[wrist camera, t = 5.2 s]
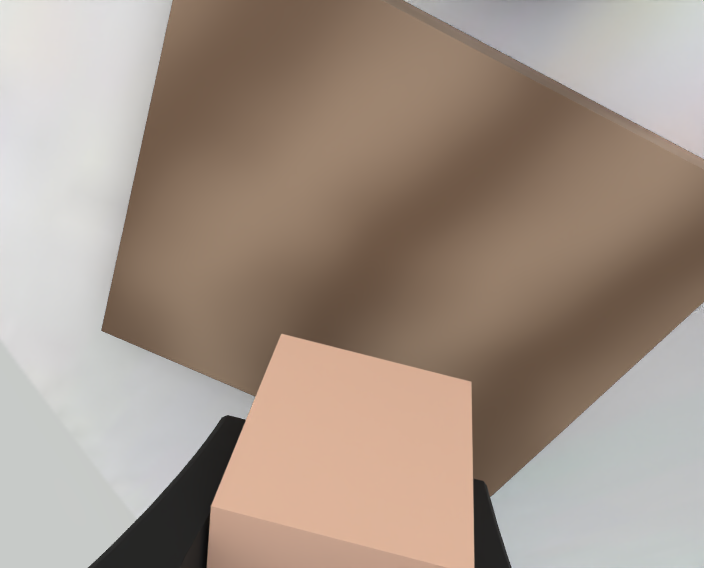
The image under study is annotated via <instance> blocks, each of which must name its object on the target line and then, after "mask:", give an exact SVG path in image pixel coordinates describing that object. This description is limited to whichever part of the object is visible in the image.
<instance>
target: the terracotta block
mask: <svg viewBox="0 0 704 568" xmlns="http://www.w3.org/2000/svg"><path fill="white" fill-rule="evenodd" d="M207 568H474V509H473V447H472V386H471V382H470V381H466V380H462V379H458V378H455V377H451V376H447V375H443V374H439V373H435V372H431V371H427V370H423V369H419V368H415V367H411V366H407V365H403V364H399V363H395V362H391V361H387V360H383V359H379V358H375V357H372V356H368V355H364V354H360V353H356V352H352V351H348V350H344V349H340V348H336V347H332V346H328V345H324V344H320V343H316V342H312V341H308V340H304V339H300V338H296V337H293V336H289V335H285V334H281V336H280V338H279V340H278V343H277V345H276V348H275V350H274V353H273V355H272V358H271V360H270V363H269V365H268V367H267V370H266V372H265V375H264V377H263V380H262V382H261V385H260V387H259V390H258V392H257V394H256V397H255V399H254V402H253V404H252V407H251V409H250V412H249V414H248V417H247V419H246V421H245V424H244V426H243V429H242V431H241V434H240V436H239V439H238V441H237V443H236V446H235V448H234V451H233V453H232V456H231V458H230V461H229V463H228V466H227V468H226V470H225V473H224V475H223V478H222V480H221V483H220V485H219V488H218V490H217V493H216V495H215V497H214V500H213V502H212V505H211V513H210V527H209V542H208V556H207Z"/></svg>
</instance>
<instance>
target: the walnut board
mask: <svg viewBox="0 0 704 568" xmlns="http://www.w3.org/2000/svg"><path fill="white" fill-rule="evenodd" d="M703 302H704V159H702V158H700V157H698V156H696V155H695V154H693V153H691V152H689V151H687V150H685V149H683V148H681V147H679V146H677V145H676V144H674V143H672V142H670V141H668V140H666V139H664V138H662V137H660V136H659V135H657V134H655V133H653V132H651V131H649V130H647V129H645V128H643V127H642V126H640V125H638V124H636V123H634V122H632V121H630V120H628V119H626V118H624V117H623V116H621V115H619V114H617V113H615V112H613V111H611V110H609V109H607V108H606V107H604V106H602V105H600V104H598V103H596V102H594V101H592V100H590V99H589V98H587V97H585V96H583V95H581V94H579V93H577V92H575V91H573V90H571V89H570V88H568V87H566V86H564V85H562V84H560V83H558V82H556V81H554V80H553V79H551V78H549V77H547V76H545V75H543V74H541V73H539V72H537V71H536V70H534V69H532V68H530V67H528V66H526V65H524V64H522V63H520V62H518V61H517V60H515V59H513V58H511V57H509V56H507V55H505V54H503V53H501V52H500V51H498V50H496V49H494V48H492V47H490V46H488V45H486V44H484V43H483V42H481V41H479V40H477V39H475V38H473V37H471V36H469V35H467V34H465V33H464V32H462V31H460V30H458V29H456V28H454V27H452V26H450V25H448V24H447V23H445V22H443V21H441V20H439V19H437V18H435V17H433V16H431V15H430V14H428V13H426V12H424V11H422V10H420V9H418V8H416V7H414V6H412V5H411V4H409V3H407V2H405V1H403V0H173V2H172V6H171V11H170V16H169V20H168V25H167V29H166V34H165V39H164V43H163V48H162V53H161V57H160V62H159V66H158V71H157V76H156V80H155V85H154V89H153V94H152V99H151V103H150V108H149V113H148V117H147V122H146V126H145V131H144V136H143V140H142V145H141V150H140V154H139V159H138V163H137V168H136V173H135V177H134V182H133V186H132V191H131V196H130V200H129V205H128V210H127V214H126V219H125V223H124V228H123V233H122V237H121V242H120V247H119V251H118V256H117V260H116V265H115V270H114V274H113V279H112V284H111V288H110V293H109V297H108V302H107V307H106V311H105V316H104V320H103V325H102V330H101V331H103V332H105V333H108V334H110V335H113V336H115V337H117V338H120V339H122V340H124V341H127V342H129V343H131V344H134V345H136V346H138V347H141V348H143V349H145V350H148V351H150V352H152V353H155V354H157V355H159V356H162V357H164V358H166V359H169V360H171V361H174V362H176V363H178V364H181V365H183V366H185V367H188V368H190V369H192V370H195V371H197V372H199V373H202V374H204V375H206V376H209V377H211V378H213V379H216V380H218V381H220V382H223V383H225V384H227V385H230V386H232V387H235V388H237V389H239V390H242V391H244V392H246V393H249V394H251V395H253V396H256V394H257V392H258V390H259V387H260V385H261V382H262V380H263V377H264V375H265V372H266V370H267V367H268V365H269V363H270V360H271V358H272V355H273V353H274V350H275V348H276V345H277V343H278V340H279V338H280V336H281V334H285V335H289V336H293V337H296V338H300V339H304V340H308V341H312V342H316V343H320V344H324V345H328V346H332V347H336V348H340V349H344V350H348V351H352V352H356V353H360V354H364V355H368V356H372V357H375V358H379V359H383V360H387V361H391V362H395V363H399V364H403V365H407V366H411V367H415V368H419V369H423V370H427V371H431V372H435V373H439V374H443V375H447V376H451V377H455V378H458V379H462V380H466V381H470V382H471V386H472V447H473V478H474V479H478V480H481V481H484V482H485V484H486V485H487V488H488V492H489V495H490V497H491V496H492V495H493V494H494V493H495V492H497V491H498V490H499V489H500V488H501V487H502V486H503V485H504V484H505V483H506V482H507V481H509V480H510V479H511V478H512V477H513V476H514V475H515V474H516V473H517V472H518V471H519V470H521V469H522V468H523V467H524V466H525V465H526V464H527V463H528V462H529V461H530V460H531V459H533V458H534V457H535V456H536V455H537V454H538V453H539V452H540V451H541V450H542V449H544V448H545V447H546V446H547V445H548V444H549V443H550V442H551V441H552V440H553V439H554V438H556V437H557V436H558V435H559V434H560V433H561V432H562V431H563V430H564V429H565V428H566V427H568V426H569V425H570V424H571V423H572V422H573V421H574V420H575V419H576V418H577V417H578V416H580V415H581V414H582V413H583V412H584V411H585V410H586V409H587V408H588V407H589V406H591V405H592V404H593V403H594V402H595V401H596V400H597V399H598V398H599V397H600V396H601V395H603V394H604V393H605V392H606V391H607V390H608V389H609V388H610V387H611V386H612V385H613V384H615V383H616V382H617V381H618V380H619V379H620V378H621V377H622V376H623V375H624V374H625V373H627V372H628V371H629V370H630V369H631V368H632V367H633V366H634V365H635V364H636V363H638V362H639V361H640V360H641V359H642V358H643V357H644V356H645V355H646V354H647V353H648V352H650V351H651V350H652V349H653V348H654V347H655V346H656V345H657V344H658V343H659V342H660V341H662V340H663V339H664V338H665V337H666V336H667V335H668V334H669V333H670V332H671V331H672V330H674V329H675V328H676V327H677V326H678V325H679V324H680V323H681V322H682V321H683V320H685V319H686V318H687V317H688V316H689V315H690V314H691V313H692V312H693V311H694V310H695V309H697V308H698V307H699V306H700V305H701V304H702V303H703Z"/></svg>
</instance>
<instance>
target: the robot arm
mask: <svg viewBox="0 0 704 568" xmlns="http://www.w3.org/2000/svg"><path fill="white" fill-rule="evenodd" d="M245 421H246V420H245V419H241V418H237V417H233V416H229V415H227V416H225V417H222V418H221V420H220V421H219V423H218V424H217V426H216V427H215V429H214V430H213V432H212V433H211V434H210V436H209V437H208V438H207V440H206V441H205V442H204V444H203V445H202V446H201V448H200V449H199V450H198V451H197V453H196V454H195V455H194V456H193V458H192V459H191V460H190V461H189V462H188V464H187V465H186V466H185V467H184V468H183V470H182V471H181V472H180V473H179V474H178V476H177V477H176V478H175V479H174V480H173V481H172V482H171V483H170V485H169V486H168V487H167V488H166V489H165V490H164V491H163V492H162V494H161V495H160V496H159V497H158V498H157V499H156V500H155V501H154V502H153V504H152V505H151V506H150V507H149V508H148V509H147V510H146V511H145V512H144V513H143V514H142V515H141V516H140V517H139V518H138V519H137V520H136V521H135V523H133V524H132V525H131V526H130V528H128V529H127V530H126V531H125V532H124V533H123V534H122V535H121V536H120V538H118V540H117V541H116V542H115V543H114V544H113V545H112V546H111V547H109V548H108V549H107V550H106V551H105V552H104V553H103V554H102V555H101V556H100V557H99V558H98V559H97V560H96V561H95V562H94V563H93V564H91V565H90V566H89V567H88V568H207V556H208V542H209V527H210V513H211V505H212V502H213V500H214V497H215V495H216V493H217V490H218V488H219V485H220V483H221V480H222V478H223V475H224V473H225V470H226V468H227V466H228V463H229V461H230V458H231V456H232V453H233V451H234V448H235V446H236V443H237V441H238V439H239V436H240V434H241V431H242V429H243V426H244V424H245ZM473 509H474V568H511V565H510V562H509V559H508V556H507V553H506V550H505V546H504V543H503V540H502V537H501V534H500V531H499V527H498V524H497V521H496V517H495V514H494V510H493V506H492V503H491V499H490V495H489V492H488V488H487V485H486V484H485V482H484V481H481V480H478V479H474V478H473Z"/></svg>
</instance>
